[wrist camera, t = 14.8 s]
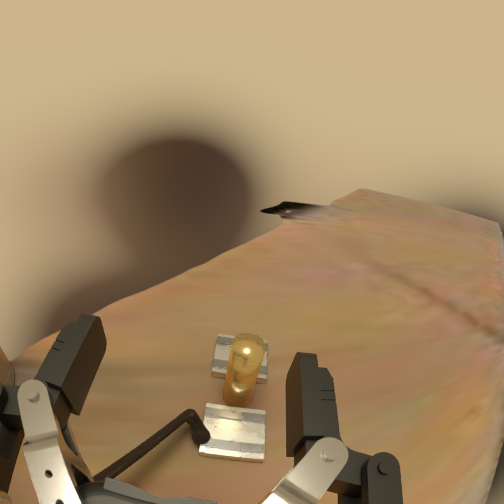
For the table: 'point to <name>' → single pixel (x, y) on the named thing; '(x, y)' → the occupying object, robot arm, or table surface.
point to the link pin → (243, 369)
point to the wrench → (198, 435)
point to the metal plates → (234, 417)
